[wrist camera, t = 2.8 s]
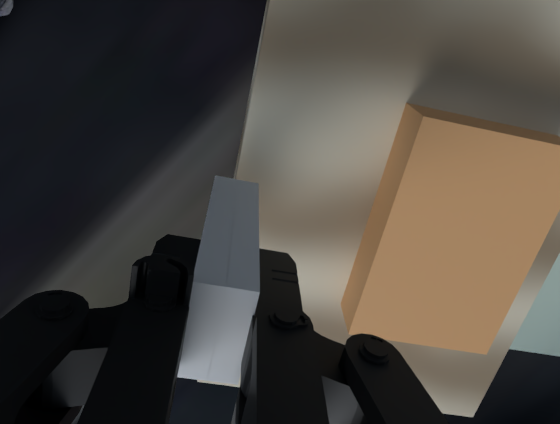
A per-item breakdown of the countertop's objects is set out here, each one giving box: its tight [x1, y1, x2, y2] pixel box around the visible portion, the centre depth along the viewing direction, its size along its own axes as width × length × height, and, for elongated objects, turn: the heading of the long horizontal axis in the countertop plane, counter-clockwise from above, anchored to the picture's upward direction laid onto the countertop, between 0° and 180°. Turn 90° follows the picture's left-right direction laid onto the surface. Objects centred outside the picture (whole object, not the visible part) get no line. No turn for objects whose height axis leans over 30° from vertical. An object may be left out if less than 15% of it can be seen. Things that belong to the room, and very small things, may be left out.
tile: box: [341, 103, 560, 355], centre depth 19 cm, size 9×6×2 cm, turn 168°
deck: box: [197, 0, 560, 417], centre depth 21 cm, size 20×14×4 cm
